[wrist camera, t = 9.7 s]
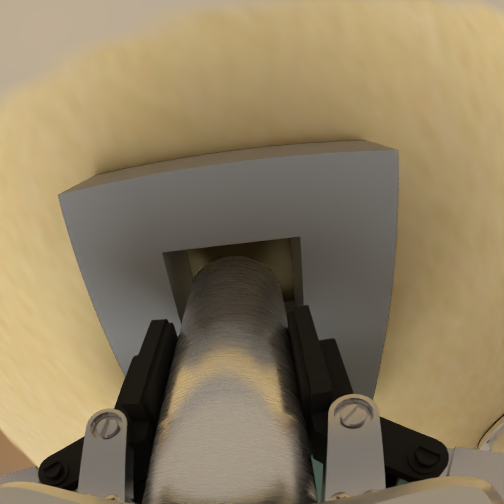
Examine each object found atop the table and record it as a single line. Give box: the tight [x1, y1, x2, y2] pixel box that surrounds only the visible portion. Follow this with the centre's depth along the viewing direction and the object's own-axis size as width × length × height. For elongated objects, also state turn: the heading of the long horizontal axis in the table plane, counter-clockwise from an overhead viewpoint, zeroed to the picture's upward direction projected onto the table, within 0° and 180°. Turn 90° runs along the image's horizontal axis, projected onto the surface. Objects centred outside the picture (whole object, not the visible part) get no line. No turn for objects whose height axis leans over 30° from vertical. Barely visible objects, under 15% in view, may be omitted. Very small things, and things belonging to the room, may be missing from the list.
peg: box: [142, 256, 318, 504], centre depth 9 cm, size 4×4×12 cm
